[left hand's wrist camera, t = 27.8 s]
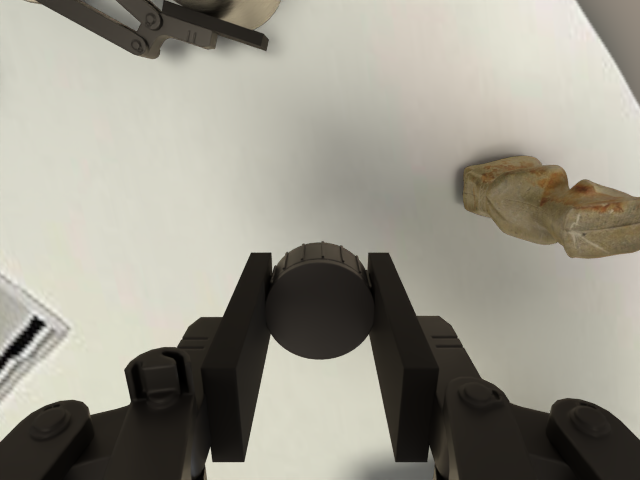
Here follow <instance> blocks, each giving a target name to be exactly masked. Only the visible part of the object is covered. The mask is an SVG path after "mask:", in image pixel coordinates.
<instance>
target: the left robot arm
mask: <svg viewBox="0 0 640 480" xmlns="http://www.w3.org/2000/svg"><path fill="white" fill-rule="evenodd" d="M368 274H369V277H370V281H371V285H372V289H371V290H372V294H373V298H374V302H375V304H374V322H373V326H372V329H371V331H370V333H369V336H370V341H371V346H372V351H373V355H374V360H375V365H376V370H377V375H378V380H379V384H380V389H381V394H382V399H383V404H384V409H385V414H386V418H387V423H388V428H389V433H390V438H391V443H392V447H393V452H394V457H395V462H427V460H428V452H429V445H430V448H431V451H432V455H433V458H434V461H435V468H434V475H433V480H640V440H639V439H638V438H637V437H636V436H635V435H634V434H633V433H632V432H631V431H630V430H629V429H628V428H627V427H626V426H625V425H624V424H623V423H622V422H621V421H620V420H619V419H618V418H616V417H615V416H614V415H613V414H611V413H610V412H609V411H607V410H605V409H603V408H601V407H599V406H598V405H596V404H593V403H590V402H587V401H584V400H581V399H571V398H566V399H561V400H557V401H556V402H555V403H554V404H553V405H552V407H551V411H550V413H545V412H541V411H537V410H532V409H528V408H524V407H520V406H517V405H514V404H511V403H510V402H509V400H508V399H507V397H506V395H505V394H504V392H503V391H501V390H500V389H499V388H498V387H496V386H495V385H494V384H492V383H490V382H488V381H485V380H483V379H482V378H481V377H480V375H479V373H478V371H477V370H476V368H475V366H474V364H473V363H472V361H471V359H470V357H469V356H468V354H467V352H466V350H465V349H464V348H463V345H462V343H461V342H460V340H459V339H458V338H457V335H456V333H455V331H454V330H453V328H452V326H451V325H450V324H449V323H447V322H446V321H445V320H443V319H442V318H441V317H440V316H416V314H415V312H414V309H413V307H412V305H411V302H410V300H409V298H408V296H407V293H406V291H405V289H404V287H403V284H402V282H401V280H400V277H399V275H398V273H397V271H396V268H395V266H394V264H393V261H392V259H391V257H390V255H389V253H368ZM271 277H272V256H271V253H251V254H250V256H249V259H248V261H247V263H246V265H245V268H244V270H243V272H242V275H241V277H240V279H239V281H238V284H237V286H236V288H235V290H234V293H233V295H232V297H231V300H230V302H229V304H228V306H227V309H226V311H225V313H224V316H223V317H201V318H199V319H198V320H197V321H195V322H194V323H193V324H192V325H190V326H189V327H188V329H187V331H186V332H185V334H184V336H183V339H182V340H181V341H180V343H179V345H178V346H177V348H176V347H162V348H158V349H153V350H150V351H148V352H145V353H143V354H141V355H139V356H137V357H136V358H135V359H133V360H132V361H131V362H130V363H129V364H128V365H127V367H126V368H125V369H124V371H125V375H126V380H127V385H128V389H129V394H130V399H131V403H130V405H128V406H125V407H121V408H118V409H114V410H110V411H106V412H102V413H97V414H93V415H90V412H89V408H88V407H87V406H86V405H85V404H84V403H83V402H80V401H76V400H66V401H59V402H55V403H52V404H49V405H46V406H44V407H42V408H40V409H38V410H36V411H34V412H33V413H31V414H30V415H29V416H27V417H26V418H25V419H24V420H22V421H21V422H20V423H19V424H18V425H17V426H16V427H15V428H14V429H13V430H12V431H11V432H10V433H9V434H8V435H7V436H6V437H5V438H4V439H3V440H2V441H1V442H0V480H207V476H206V468H205V462H206V459H207V456H208V453H209V449H210V446H211V454H212V462H244V461H245V456H246V451H247V446H248V441H249V437H250V432H251V427H252V422H253V417H254V412H255V407H256V403H257V398H258V393H259V388H260V383H261V378H262V374H263V369H264V364H265V359H266V354H267V349H268V344H269V340H270V335H271V333H270V331H269V329H268V327H267V324H266V310H265V301H266V297H267V294H268V290H269V286H270V280H271Z"/></svg>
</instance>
